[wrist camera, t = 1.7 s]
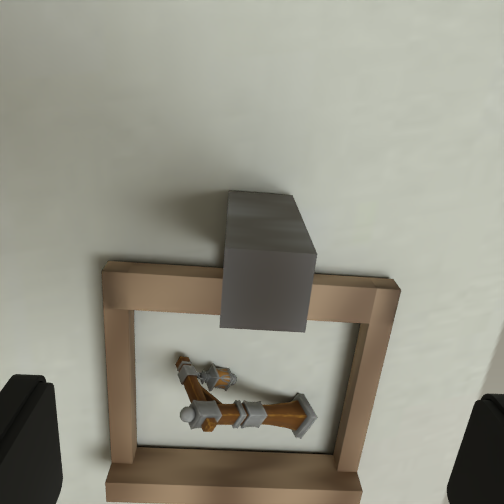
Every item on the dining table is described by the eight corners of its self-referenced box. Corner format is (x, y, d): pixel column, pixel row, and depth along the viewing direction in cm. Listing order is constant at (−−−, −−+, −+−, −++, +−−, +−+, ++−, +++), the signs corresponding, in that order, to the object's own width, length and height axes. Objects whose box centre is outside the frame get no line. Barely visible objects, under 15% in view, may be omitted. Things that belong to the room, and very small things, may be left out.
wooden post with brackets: (170, 345, 23) (194, 416, 20) (284, 361, 28) (319, 420, 24) (156, 370, 24) (177, 442, 20) (269, 381, 28) (302, 442, 25)
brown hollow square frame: (410, 204, 21) (486, 265, 15) (348, 473, 28) (380, 595, 22) (104, 181, 20) (42, 235, 14) (117, 464, 27) (80, 588, 21)
